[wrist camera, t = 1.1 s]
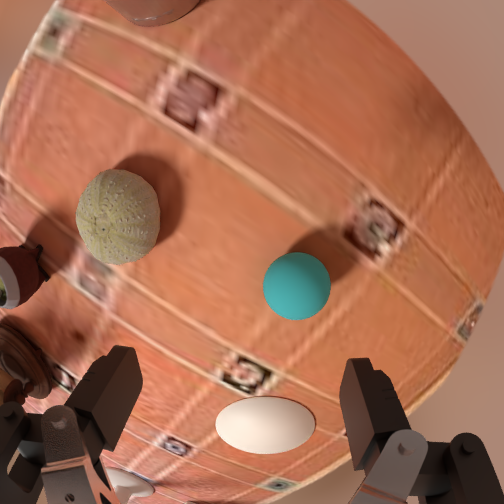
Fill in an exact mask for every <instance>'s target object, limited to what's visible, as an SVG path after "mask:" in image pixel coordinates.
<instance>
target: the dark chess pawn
mask: <svg viewBox="0 0 504 504" xmlns="http://www.w3.org/2000/svg"><path fill="white" fill-rule="evenodd" d="M41 353H42V350H41V349H38V350H36V351H35V350H34V348H33V347H32V346H31V345H30V344H29V342H28V341H27V340H26V339H25V338H24V337H23V336H21V335H20V334H19V333H18V332H17V331H15V330H14V329H13V328H11V327H9V326H7V325H4V324H0V406H1V405H2V404H4V403H6V402H12V401H13V402H17V403H19V404H21V405H23V404H24V403H25V398H27V397H28V395H29V396H31V397H34V398H37V399H44V398H46V397H47V396H48V395H49V394H50V392H51V390H52V381H51V377H50V375H49V372H48V370H47V368H46V366H45V364H44V363H43V361H42V359H41V358H40V355H41Z"/></svg>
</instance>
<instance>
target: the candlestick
mask: <svg viewBox="0 0 504 504" xmlns="http://www.w3.org/2000/svg"><path fill="white" fill-rule="evenodd" d="M105 469H106V471H107V474H108V476H109V479H110V482H111V484H112V486H113V487H114V488H115V494H116V496H117V498H118V499H119V501H120V503H121V504H127V502H128V500H129V498H130V496H131V495H133V496H139V497H146V496H150V495H152V494H153V491H154V489H153V488H152V486H151V485H150V484H149V483H147V482H146V481H144V480H143V479H141V478H139V477H138V476H136V475H134V474H131V473H129V472H127V471H124V470H121V469H118V468H113V467H105Z"/></svg>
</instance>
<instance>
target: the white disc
mask: <svg viewBox="0 0 504 504" xmlns="http://www.w3.org/2000/svg"><path fill="white" fill-rule="evenodd" d="M314 429H315V421H314V418H313V416H312V414H311V413H310V411H309V410H308V409H306V408H305V407H304V406H302V405H300V404H299V403H296V402H294V401H291V400H288V399H284V398H278V397H267V396H265V397H251V398H246V399H242V400H239V401H236V402H233V403H232V404H230V405H228V406H226V407H225V408H224V409H223V410H222V411H221V412H220V413H219V414H218V416H217V419H216V430H217V432H218V434H219V435H220V437H221V438H222V439H223V440H224V441H225V442H227V443H228V444H230V445H231V446H233V447H235V448H237V449H240V450H243V451H246V452H251V453H258V454H273V453H280V452H285V451H288V450H291V449H294V448H296V447H298V446H300V445H302V444H303V443H305V442H306V441H307V440H308V439H309V438H310V437H311V435H312V434H313V432H314Z"/></svg>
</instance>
